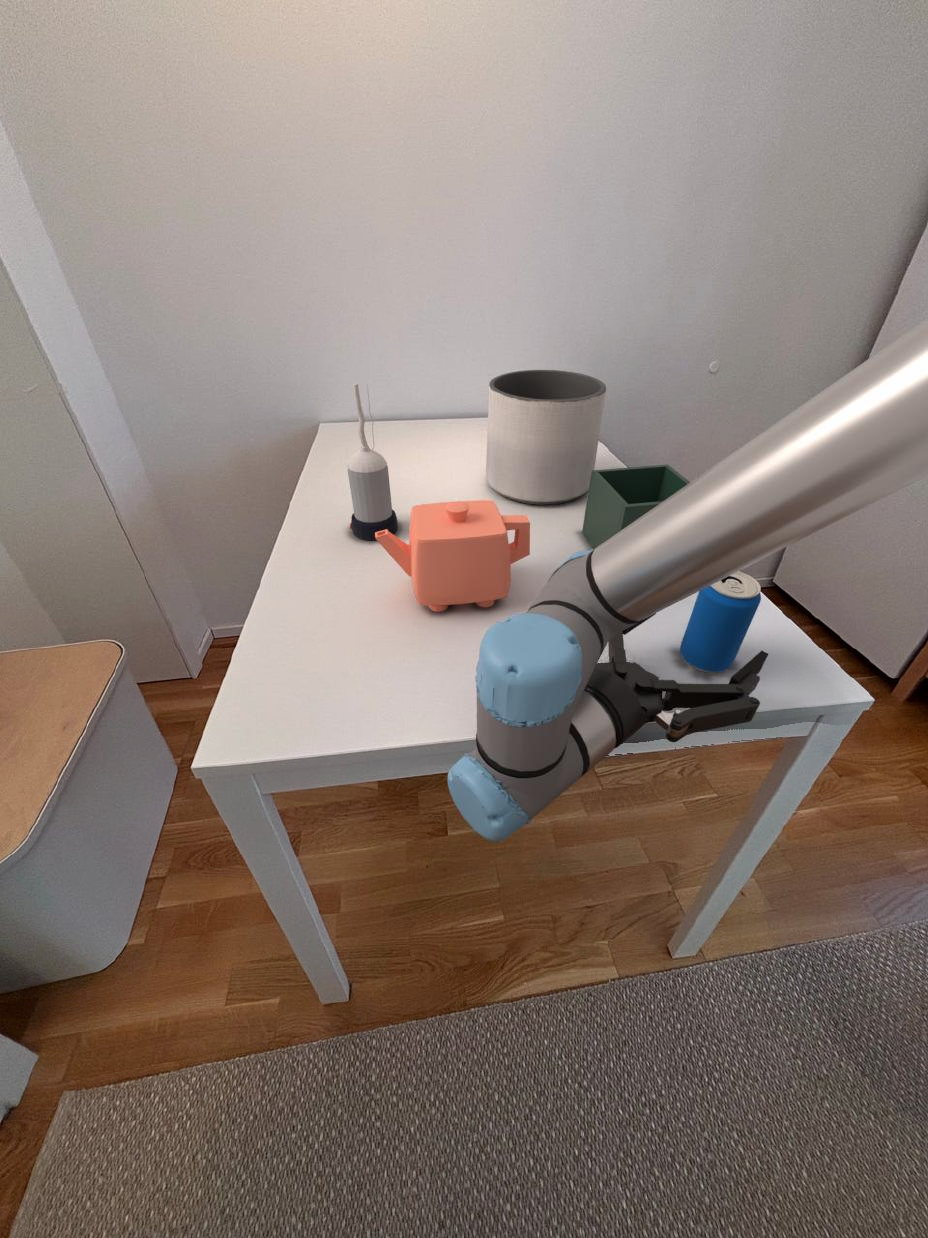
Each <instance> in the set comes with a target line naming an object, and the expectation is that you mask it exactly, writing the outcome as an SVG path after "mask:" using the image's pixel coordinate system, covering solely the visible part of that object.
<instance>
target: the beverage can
mask: <svg viewBox="0 0 928 1238" xmlns="http://www.w3.org/2000/svg"><path fill="white" fill-rule="evenodd" d="M761 588H762V587H761V584H760V583H759V582H758V581H757V580H756V579H755V578H754V577H752V576H751V575H749V574H747V573H745V572H743V571H738V572H736V573H734V574H732V575H730V576H728V577H726V578H724V579H722V580H720V581H718V582H716V583H714V584H712V585H710V586H708V587H706V588H704V589H702V590H700V591H698V592H697V596H696V599H695V602H694V604H693V605H694V606H693V607H692V611H691V614H690V617H689V619H688V622H687V626H686V627H685V631H684V633H683V637H682V640H681V642H680V646H679V654H680V655H681V657H682V659H683V660H684V661H685V662H686V663H688V664H689V666H691V667H692V668H694V669H696V670H698V671H701V672H705V673H721V672H722V673H723V672H725V671H728V670H730V668H731V667H733V665H734V662H735V660H736V657H737V655H738V653H739V651H740V649H741V646H742V644H743V642H744V639H745V637H746V635H747V633H748V631H749V628H750V626H751V624H752V622H753V619H754V617H755V615H756V612H757V611H758V608H759V606H760V604H761V601H762V595H761Z"/></svg>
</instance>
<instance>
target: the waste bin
mask: <svg viewBox="0 0 928 1238" xmlns="http://www.w3.org/2000/svg"><path fill="white" fill-rule="evenodd" d="M690 482H691V481H690V480H688V479H687V478H686V477H684V476H683V475H682V474H680V473H679V472H678V471H677V470H675V469H674V467H672V466H671V465H669V464H668V463H667V464H657V465H643V466H631V467H629V466H628V467H618V468H617V467H616V468H606V469H605V468H604V469H594V470H592V472H591V478H590V485H589V490H588V491H587V498H586V505H585V511H584V516H583V522H582V523H583V524H582V529H581V534H582V536H583V537H584V538H585V540H586V542H588V544H589V545H590V547H591V548H592V550H593V549H595V548H597V547H598V546H600V545H601V544H602V543H604V542H605V541H607V540H608V539H610V538H611V537H613V536H614V535H615V534H617V533H618V532H620V531H621V530H623V529H624V528H626V527H627V526H628V525H630V524H631V523H633V522H634V521H636V520H637V519H638V518H640V517H641V516H643V515H644V514H646V513H647V512H649V511H650V510H651V509H653V508H654V507H656V506H657V505H659V504H660V503H662V502H663V501H664V500H666V499H667V498H669V497H670V496H672V495H673V494H675V493H676V492H677V491H679V490H680V489H682V488H683V487H685V486H686V485H688V484H689V483H690Z"/></svg>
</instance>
